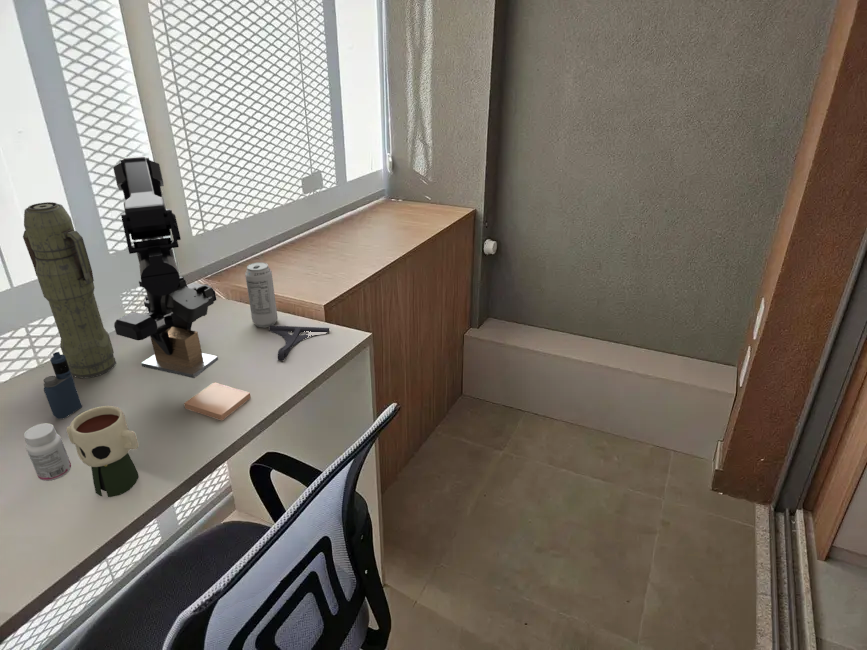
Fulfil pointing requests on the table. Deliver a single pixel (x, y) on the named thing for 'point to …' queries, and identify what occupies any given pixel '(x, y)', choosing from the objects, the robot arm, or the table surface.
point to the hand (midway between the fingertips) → (177, 349)
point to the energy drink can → (261, 294)
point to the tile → (217, 401)
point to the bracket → (292, 336)
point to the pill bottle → (47, 452)
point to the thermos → (68, 288)
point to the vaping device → (61, 389)
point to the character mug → (106, 448)
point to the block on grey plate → (180, 355)
